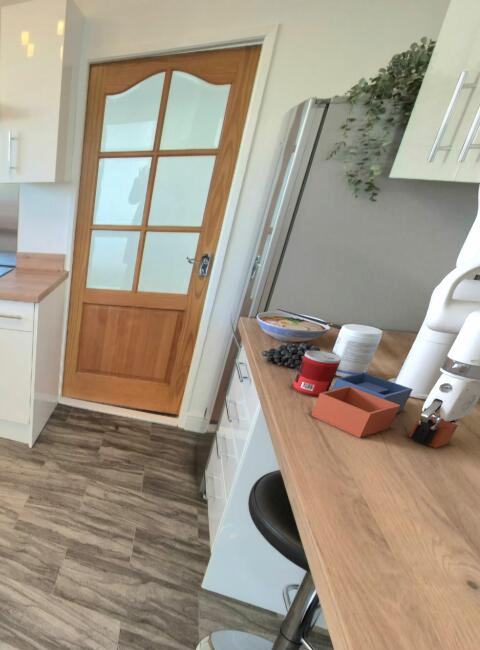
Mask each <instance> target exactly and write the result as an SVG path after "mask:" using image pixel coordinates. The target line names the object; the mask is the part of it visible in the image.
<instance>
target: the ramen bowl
mask: <svg viewBox="0 0 480 650" xmlns="http://www.w3.org/2000/svg"><path fill="white" fill-rule="evenodd" d="M276 310H277V311H264V312H259V313H257V314H256V320H257V322H258V325H259V327H260V328H261V330H262V331H264V333H265V334H267V335H268V336H271V337H272V338H274V339H276V340H278V341H280V342H284V343H292V344H293V343H298V342H308V341H312V340H316V339H318V338H319V337H321V336H323V335H325V334H326V333H327V332H328V331H329V330H331V328H333V329H337V330H341V328H342V326H343V325H338V324H335V323H331V322H328V321H326V320H323V319H321V318H318V317H315V316H311V315H307V314H301V313H295V312H291V311H287V310H284V309H281V308H276Z"/></svg>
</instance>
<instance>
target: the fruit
mask: <svg viewBox="0 0 480 650" xmlns="http://www.w3.org/2000/svg"><path fill="white" fill-rule="evenodd" d="M307 351H321V348H320V347H318V346H315V345H314V344H313V343H306V342H301V343H300V344H298V343H296V344H293V342H292V343H291V342H286V344H280V345H279V347H276V348H274V347H271V348H270V349H269V350H262V352H261V355H262V357H266V358H265V360H266V362H268V363H273V364H277V363H278V366H280V367H282V366H286V367H290V368H294V369H295V370H297V371H299V368H300V365H301V363H302V360H303V357H304V355H305V353H306V352H307Z"/></svg>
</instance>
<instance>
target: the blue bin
mask: <svg viewBox="0 0 480 650" xmlns="http://www.w3.org/2000/svg"><path fill="white" fill-rule="evenodd" d="M388 380H389V379H384V378H381V377H379V376H376V375H373V374H370V373H368V372H367V373H364V372H362V373H358V374H354V375H350V376H346V377H338V378H336V380H335V382H334V384H333V386H332V389H331V390H335V389H339V388H342V387H346V386H350V387H353V388H356V389H358V390H361V391H364V392H366V393H369V394H372V395H374V396H377V397H380V398H382V399H385V400H388V401H390V402H393V403H395V404H398V405H400V407H399V409H398V411H397V413H400V412H402V411H403V410H404V408H405V406H406V404H407V402H408V400H409V398H410V394H411V392H412V390H413V389H411V388H408V387H405V386H402V385H399V384H396V383H393V382H390V381H388ZM365 382H370V383H372V384H375V385H378V386H381V387H384V388H386V389H389V391H388V393H387V395H382V394H379V393H377V392H374V391H371V390H369V389H366V388H363V387H361V386H358V385H357V384H361V383H365Z"/></svg>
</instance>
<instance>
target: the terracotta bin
mask: <svg viewBox="0 0 480 650" xmlns="http://www.w3.org/2000/svg"><path fill="white" fill-rule="evenodd" d="M399 407H400V405H398V404H395V403H393V402H390V401H388V400H385V399H382V398H380V397H377V396H374V395H372V394H369V393H366V392H364V391H361V390H358V389H356V388H353V387H350V386H346V387H342V388H339V389H335V390H332V389H331V390H328V391H327V392H323V393H320V394H319V397H317V399H316V402H315V405H314V407H313V409H312V411H311V414H310V416H312V417H313V418H315V419H318V420H320V421H323V422H324V423H327V424H328V425H331V426H333V427H335V428H338V429H340V430H342V431H344V432H347V433H348V434H350V435H353V436H355V437H357V438H359V439H360V438H364V437H367V436H370V435H372V434H375V433H379V432H382V431H385V430H388V429H390V427H391V425H392V423H393V422H394V419H395V417H396V415H397V413H398V412H397V411H398V409H399Z"/></svg>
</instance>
